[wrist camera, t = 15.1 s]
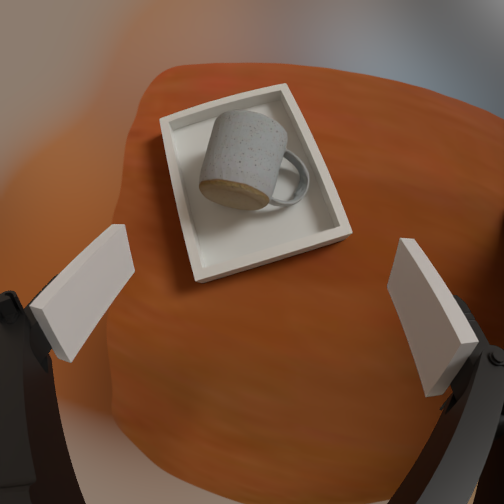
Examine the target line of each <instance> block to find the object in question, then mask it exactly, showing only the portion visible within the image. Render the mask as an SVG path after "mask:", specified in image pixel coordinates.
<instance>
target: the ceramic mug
mask: <svg viewBox="0 0 504 504" xmlns="http://www.w3.org/2000/svg"><path fill="white" fill-rule="evenodd" d="M287 141H288V137H287V132H286V131H285V129H284V128H283V127H282V126H281V125H280V124H279V123H278V122H276V121H275V120H274V119H272V118H270V117H268V116H266V115H263V114H261V113H257V112H253V111H248V110H231V111H227V112H224V113H222V114H220V115H219V116H218V117H217V118H216V120H215V122H214V125H213V129H212V133H211V136H210V139H209V143H208V146H207V150H206V154H205V158H204V161H203V164H202V168H201V172H200V177H199V189H200V191H201V193H202V195H203V196H204V197H205V198H207V199H208V200H210V201H212V202H215V203H217V204H219V205H222V206H226V207H230V208H234V209H239V210H259V209H262V208H264V207H265V206H267V205H268V204H271V205H273V206H279V207H287V206H291V205H294V204H296V203H298V202H299V201H300V200H302V199H303V198H304V196H305V195H306V193H307V190H308V187H309V181H310V178H309V173H308V170H307V168H306V166H305V164H304V163H303V162H302V161H301V159H300V158H299V157H298V156H296V155H295V154H294V153H292V152H291V151H289V150H288V149H286V144H287ZM283 157H284V158H286V159H287V160H288V161H290V162H291V163H292V164H293V165H294V166H295V167H296V169H297V170H298V173H299V175H300V182H299V185H298V188H297V191H296V193H294V199H293V200H290V201H283V200H278V199H274V198H273V197H272V195H273V193H274V189H275V186H276V182H277V177H278V173H279V169H280V166H281V163H282V159H283Z"/></svg>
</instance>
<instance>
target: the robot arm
mask: <svg viewBox="0 0 504 504" xmlns="http://www.w3.org/2000/svg"><path fill="white" fill-rule="evenodd" d="M134 272H135V269H134V265H133V261H132V257H131V252H130V248H129V243H128V238H127V233H126V229H125V224H112V225H111V226H110V227H109V228H108V229H107V230H105V231H104V232H103V233H102V234H101V235H100V236H99V237H98V238H96V239H95V240H94V241H93V242H92V243H91V244H90V245H89V246H88V247H86V248H85V249H84V250H83V251H82V252H81V253H80V254H79V255H78V256H77V257H76V258H75V259H74V260H73V261H72V262H71V263H70V264H69V265H68V266H67V267H66V268H65V269H64V270H63V271H62V272H61V273H59V274H58V275H56V276H55V277H53V279H51V281H50V282H49V283H48V284H47V285H46V286H45V287H44V288H43V289H42V291H40V292H39V293H38V294H37V295H36V296H35V297H34V299H32V301H31V302H30V303H29V304H28V305H27V306H26V307H25V308H24V309H23V307H22V305H21V303H20V301H19V298H18V297H17V294H16V293H15V292H14V291H6V292H3V293H2V294H0V504H86V503H85V501H84V498H83V496H82V493H81V490H80V487H79V484H78V482H77V479H76V476H75V472H74V469H73V467H72V463H71V459H70V456H69V452H68V449H67V445H66V441H65V437H64V433H63V428H62V424H61V419H60V414H59V409H58V403H57V397H56V391H55V385H54V377H53V369H52V360H51V357H50V356H49V354H48V353H49V352H50V350H51V349H53V351H54V352H55V354H56V356H57V357H58V358H59V359H61V360H64V361H67V362H70V363H71V362H72V361H73V359H74V358H75V356H76V355H77V353H78V352H79V350H80V348H81V347H82V345H83V344H84V342H85V341H86V339H87V338H88V336H89V335H90V333H91V332H92V330H93V329H94V327H95V326H96V324H97V323H98V322H99V320H100V319H101V317H102V316H103V314H104V313H105V312H106V310H107V309H108V307H109V306H110V305H111V303H112V302H113V300H114V299H115V298H116V296H117V295H118V293H119V292H120V291H121V289H122V288H123V287H124V285H125V284H126V283H127V281H128V280H129V279H130V277H131V276H132V275H133V273H134ZM387 288H388V291H389V293H390V296H391V298H392V301H393V303H394V306H395V308H396V311H397V313H398V316H399V318H400V321H401V324H402V326H403V329H404V332H405V334H406V337H407V340H408V343H409V346H410V349H411V352H412V354H413V357H414V360H415V364H416V367H417V370H418V373H419V376H420V379H421V383H422V386H423V389H424V393H425V396H426V397H430V396H436V395H442V394H443V393H444V392H445V391H446V389H447V388H448V387H449V385H451V388H452V390H453V393H452V394H451V395H450V397H449V398H448V399H447V400H446V402H445V403H444V404H443V405H442V406H441V408H440V410H442V409H443V408H444V410H443V412H442V414H441V416H440V418H439V420H438V422H437V424H436V426H435V428H434V430H433V432H432V434H431V436H430V438H429V440H428V441H427V443H426V445H425V447H424V449H423V450H422V452H421V454H420V455H419V457H418V459H417V461H416V462H415V464H414V465H413V467H412V469H411V470H410V472H409V473H408V475H407V476H406V478H405V479H404V481H403V482H402V484H401V485H400V487H399V488H398V490H397V491H396V492H395V494H394V495H393V497H392V498H391V499H390V501H389V502H388V503H387V504H467V503H468V501H469V499H470V497H471V495H472V493H473V491H474V488H475V486H476V484H477V482H478V486H477V490H476V494H475V498H474V502H473V504H504V350H503V349H501V348H500V347H498V346H495V345H490V344H489V342H488V341H487V339H486V337H485V335H484V333H483V332H482V330H481V328H480V326H479V325H478V323H477V321H475V318H474V316H473V314H471V311H470V309H469V308H468V306H467V305H466V303H465V302H464V301H463V300H462V299H461V298H459V297H458V296H457V295H452V294H451V292H450V291H449V289H448V287H447V286H446V284H445V283H444V281H443V280H442V278H441V277H440V275H439V274H438V272H437V271H436V269H435V268H434V266H433V265H432V263H431V262H430V261H429V259H428V258H427V256H426V255H425V253H424V252H423V251H422V249H421V248H420V247H419V245H418V244H417V242H416V241H415V240H414V239H408V238H400V240H399V244H398V248H397V252H396V256H395V260H394V263H393V267H392V271H391V274H390V278H389V281H388V285H387ZM478 480H479V481H478Z"/></svg>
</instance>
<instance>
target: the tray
mask: <svg viewBox="0 0 504 504" xmlns="http://www.w3.org/2000/svg"><path fill="white" fill-rule="evenodd" d="M231 110H248V111H253V112H257V113H261V114H263V115H266V116H268V117H270V118H272V119H274V120H275V121H276V122H278V123H279V124H280V125H281V126H282V127H283V128H284V129H285V131H286V132H287V137H288V141H287V144H286V149H288V150H289V151H291V152H292V153H294V154H295V155H296V156H298V157H299V158H300V159H301V161H302V162H303V163H304V164H305V166H306V168H307V170H308V173H309V178H310V181H309V187H308V190H307V193H306V195H305V196H304V198H303V199H302V200H300V201H299V202H298V203H296V204H294V205H291V206H287V207H279V206H273V205H271V204H268V205H267V206H265V207H264V208H262V209H259V210H239V209H234V208H230V207H226V206H222V205H219V204H217V203H215V202H212V201H210V200H208V199H207V198H205V197H204V196H203V195H202V193H201V191H200V189H199V177H200V172H201V168H202V164H203V161H204V158H205V154H206V150H207V146H208V143H209V139H210V136H211V133H212V129H213V125H214V122H215V120H216V118H217V117H218V116H219V115H220V114H222V113H224V112H227V111H231ZM160 125H161V131H162V136H163V142H164V147H165V152H166V157H167V162H168V167H169V172H170V177H171V182H172V187H173V191H174V196H175V200H176V205H177V209H178V214H179V218H180V222H181V227H182V231H183V235H184V239H185V243H186V247H187V251H188V255H189V259H190V263H191V267H192V271H193V274H194V278H195V281H197V282H200V283H205V282H208V281H212V280H215V279H218V278H222V277H225V276H228V275H232V274H235V273H238V272H242V271H245V270H248V269H252V268H255V267H258V266H261V265H265V264H268V263H271V262H275V261H278V260H281V259H284V258H287V257H291V256H294V255H297V254H300V253H304V252H307V251H310V250H313V249H316V248H320V247H323V246H326V245H329V244H332V243H335V242H338V241H342V240H345V239H346V238H347V237H348V236H350V235H351V234H352V233H353V232H352V230H351V227H350V224H349V221H348V219H347V216H346V214H345V211H344V208H343V206H342V203H341V201H340V198H339V196H338V193H337V191H336V188H335V186H334V183H333V181H332V179H331V176H330V174H329V172H328V169H327V167H326V165H325V162H324V160H323V158H322V156H321V153H320V151H319V149H318V147H317V145H316V142H315V140H314V138H313V136H312V134H311V132H310V130H309V128H308V125H307V123H306V121H305V119H304V117H303V115H302V113H301V111H300V109H299V107H298V105H297V103H296V101H295V99H294V97H293V96H292V94H291V92H290V90H289V88H288V86H287V84H286V83H284V84H279V85H274V86H270V87H265V88H261V89H256V90H252V91H248V92H244V93H240V94H236V95H232V96H229V97H225V98H221V99H218V100H214V101H211V102H208V103H204V104H201V105H198V106H195V107H192V108H189V109H186V110H183V111H180V112H177V113H174V114H171V115H169V116H166V117H163V118H160ZM299 182H300V175H299V173H298V170H297V169H296V167H295V166H294V165H293V164H292V163H291V162H290V161H288V160H287V159H286V158H284V157H283V159H282V163H281V166H280V169H279V173H278V177H277V182H276V186H275V189H274V193H273V195H272V197H273V198H274V199H278V200H283V201H290V200H293V199H294V193H296V191H297V188H298V185H299Z"/></svg>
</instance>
